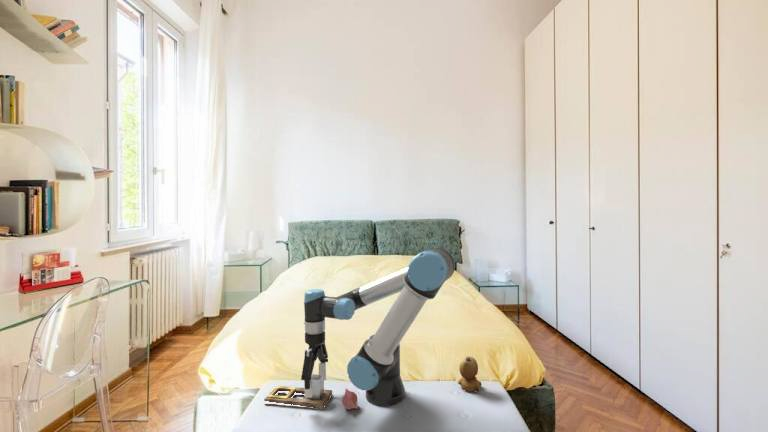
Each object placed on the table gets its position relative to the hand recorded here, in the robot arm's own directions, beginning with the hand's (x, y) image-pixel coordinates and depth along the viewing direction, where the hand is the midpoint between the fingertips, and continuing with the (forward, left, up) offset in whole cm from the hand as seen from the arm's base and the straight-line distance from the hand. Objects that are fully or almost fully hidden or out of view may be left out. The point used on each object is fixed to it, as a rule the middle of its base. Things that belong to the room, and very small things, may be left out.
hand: (315, 387), depth 132 cm
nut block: (0, 0, -5) cm, 5 cm away
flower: (-14, +2, -5) cm, 15 cm away
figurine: (-57, -18, -5) cm, 60 cm away
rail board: (+7, 0, -5) cm, 9 cm away
